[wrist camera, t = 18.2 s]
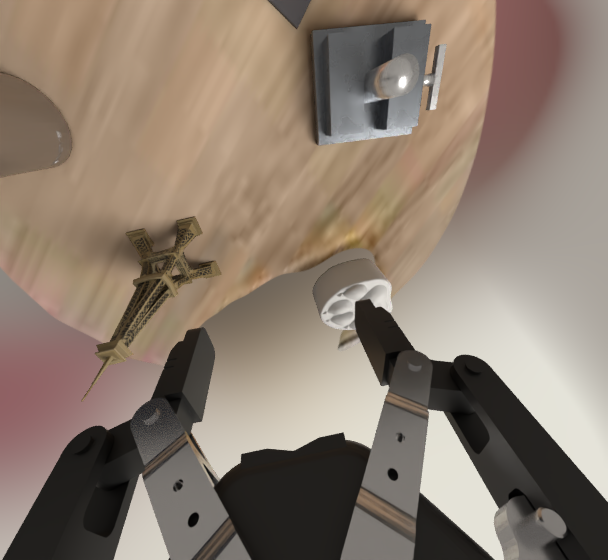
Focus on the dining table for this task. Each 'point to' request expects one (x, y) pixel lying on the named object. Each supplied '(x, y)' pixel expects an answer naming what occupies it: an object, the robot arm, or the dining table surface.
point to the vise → (372, 80)
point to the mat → (291, 9)
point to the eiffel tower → (153, 288)
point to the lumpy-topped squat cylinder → (350, 292)
